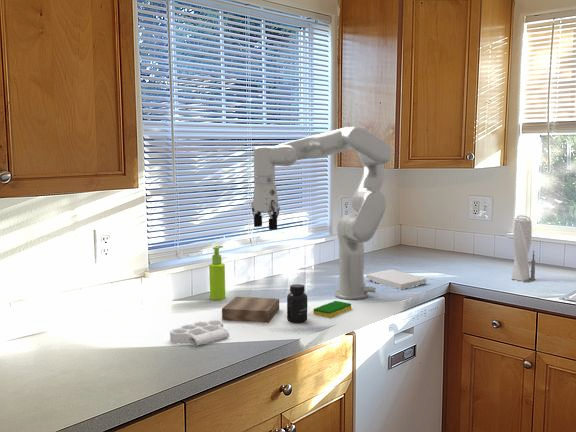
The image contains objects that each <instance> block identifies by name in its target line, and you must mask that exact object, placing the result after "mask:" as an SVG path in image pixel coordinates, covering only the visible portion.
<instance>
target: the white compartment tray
mask: <svg viewBox="0 0 576 432" xmlns="http://www.w3.org/2000/svg"><path fill="white" fill-rule="evenodd" d="M169 336H170V338H169V339H170V342H171V343H172V342H174V343H173V344H178V343H180V344H189V345H191V346H193V347H198V346H201V345H204V344H209V343H213V342H217V341H220V340H223V339H224V340H225V339H227V338H229V337H230V333H229V331H228V329H226V328H224V322H223V320H218V319H211V320H207V321H197V322H196V321H195V322H192V323H189V324H188V323H187V324H184V325H181V326H180V327H177V328H173V329H171V330H170V331H169Z"/></svg>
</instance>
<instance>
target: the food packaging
mask: <svg viewBox="0 0 576 432" xmlns="http://www.w3.org/2000/svg"><path fill="white" fill-rule="evenodd" d="M366 279H368V280H372V283H373V282H376V283H375V284H378V283H380V284H383V285H382V286H384V285H387V286H386V287H388V286H391V287H395V288H398V289H397V290H399V289H403V290H406V289H405V288H408V289H410V288H409V287H412V286H416V285H420V284H421V285H424V283H425V284H427V278H426V277H422V276H419V275H415V274H411V273H408V272H404V271H399V270H395V269H393V268H392V269H386V270H381V271H376V272H371V273H367V274H366ZM380 284H379V285H380ZM421 285H420V286H421ZM391 287H390V288H391ZM416 287H417V286H416ZM395 288H394V289H395ZM412 288H413V287H412Z"/></svg>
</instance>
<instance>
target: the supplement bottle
mask: <svg viewBox="0 0 576 432" xmlns="http://www.w3.org/2000/svg"><path fill="white" fill-rule="evenodd" d="M289 287H290V288H289V293H287V296H286V320H287V321H288V323H292V324H305V323H306V322H307V321H308V295H307V293H305V291H306V290H305V289H306V288H305V285H304V284H298V283H297V284H295V283H294V284H291V285H289Z"/></svg>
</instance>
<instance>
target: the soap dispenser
mask: <svg viewBox="0 0 576 432" xmlns="http://www.w3.org/2000/svg"><path fill="white" fill-rule="evenodd" d="M221 248H224V246H223V245H215V246H213V247H212V250H214V251H213V252H214V254H213V255H212V256H211V258H212V259H211V260H212V261H211V262H212V263H210V264H208V271H209V272H208V273H209V299H210V300H213V301H220V300H225V299H226V265H225V263H223V262H222V255H221V254H220V249H221Z"/></svg>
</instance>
